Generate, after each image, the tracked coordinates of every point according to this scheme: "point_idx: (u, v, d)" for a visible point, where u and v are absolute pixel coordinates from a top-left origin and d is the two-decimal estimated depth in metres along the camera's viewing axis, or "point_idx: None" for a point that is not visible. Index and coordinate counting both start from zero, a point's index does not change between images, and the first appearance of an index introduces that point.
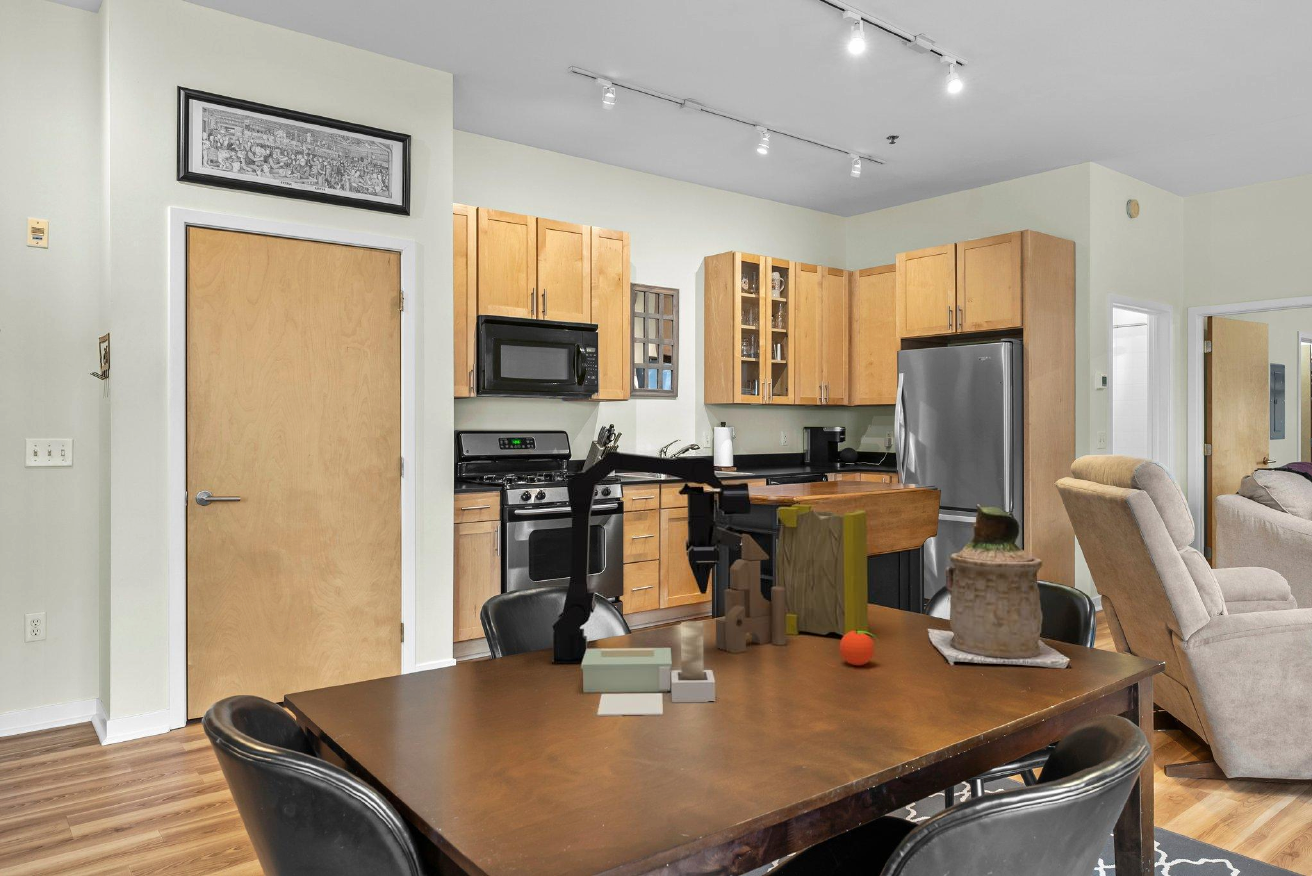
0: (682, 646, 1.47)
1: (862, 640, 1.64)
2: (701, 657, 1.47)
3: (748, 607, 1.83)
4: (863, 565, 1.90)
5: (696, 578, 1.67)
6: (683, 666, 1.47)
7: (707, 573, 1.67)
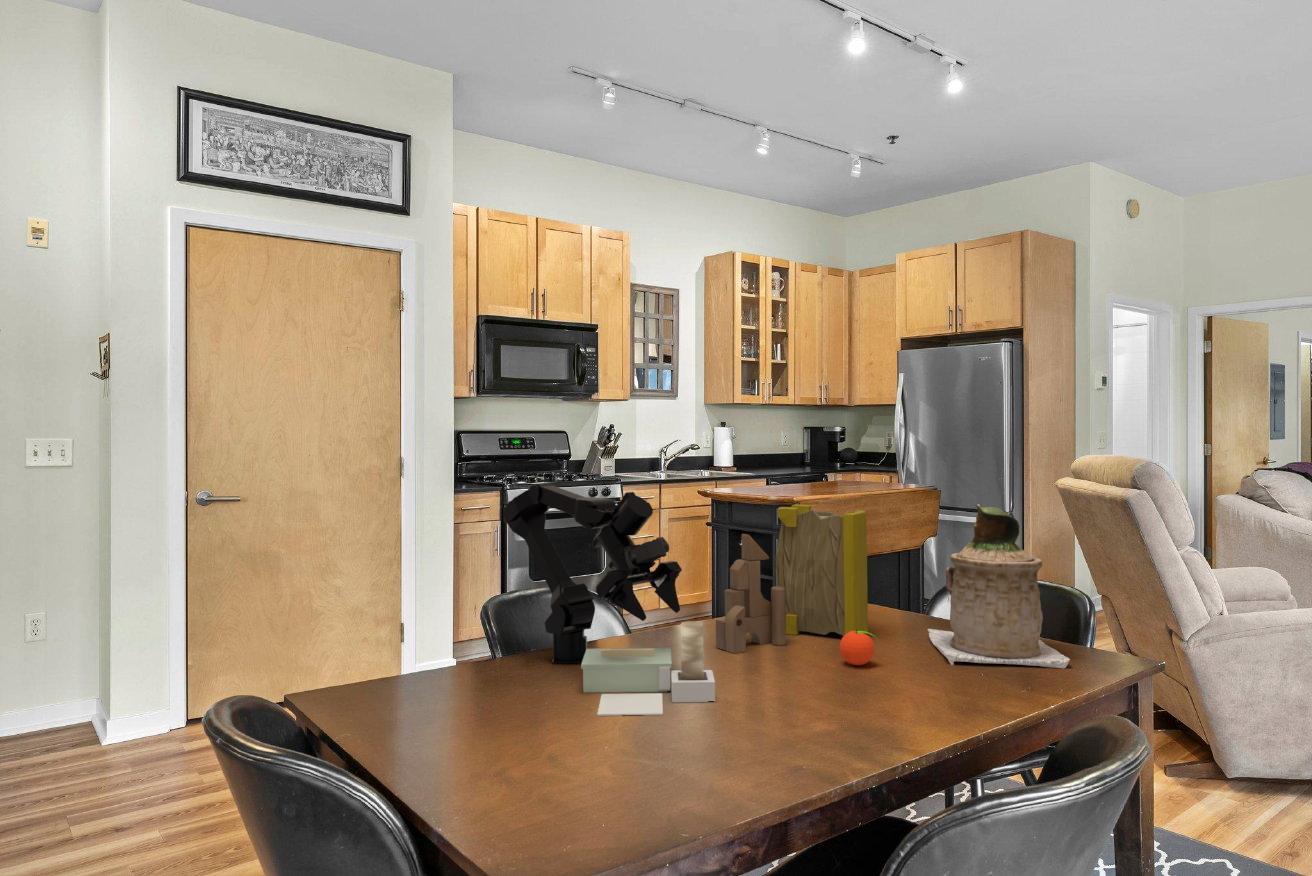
0: (682, 646, 1.47)
1: (862, 640, 1.64)
2: (701, 657, 1.47)
3: (748, 607, 1.83)
4: (863, 565, 1.90)
5: (627, 610, 1.52)
6: (683, 666, 1.47)
7: (629, 598, 1.51)
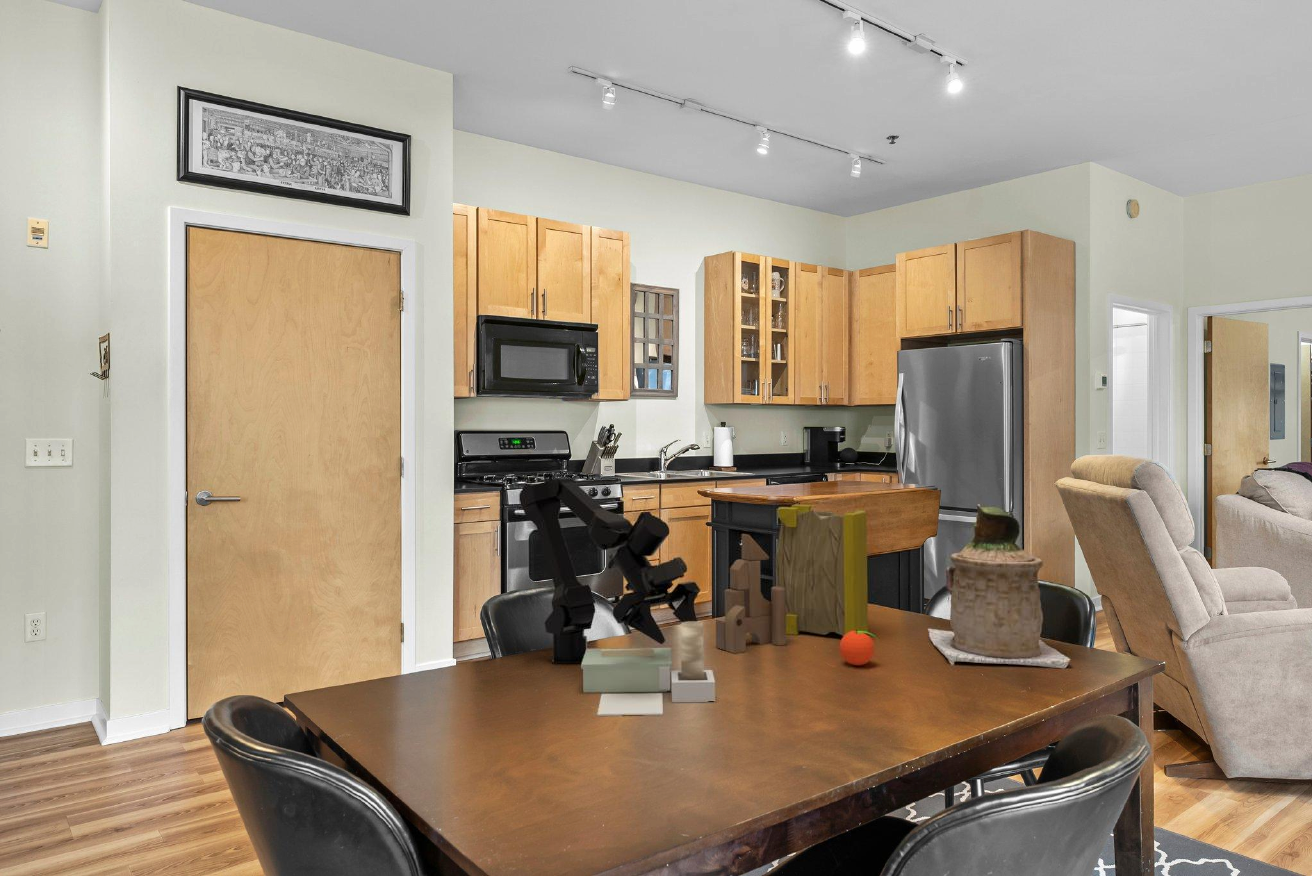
0: (682, 646, 1.47)
1: (862, 640, 1.64)
2: (701, 657, 1.47)
3: (748, 607, 1.83)
4: (863, 565, 1.90)
5: (645, 633, 1.48)
6: (683, 666, 1.47)
7: (647, 621, 1.47)
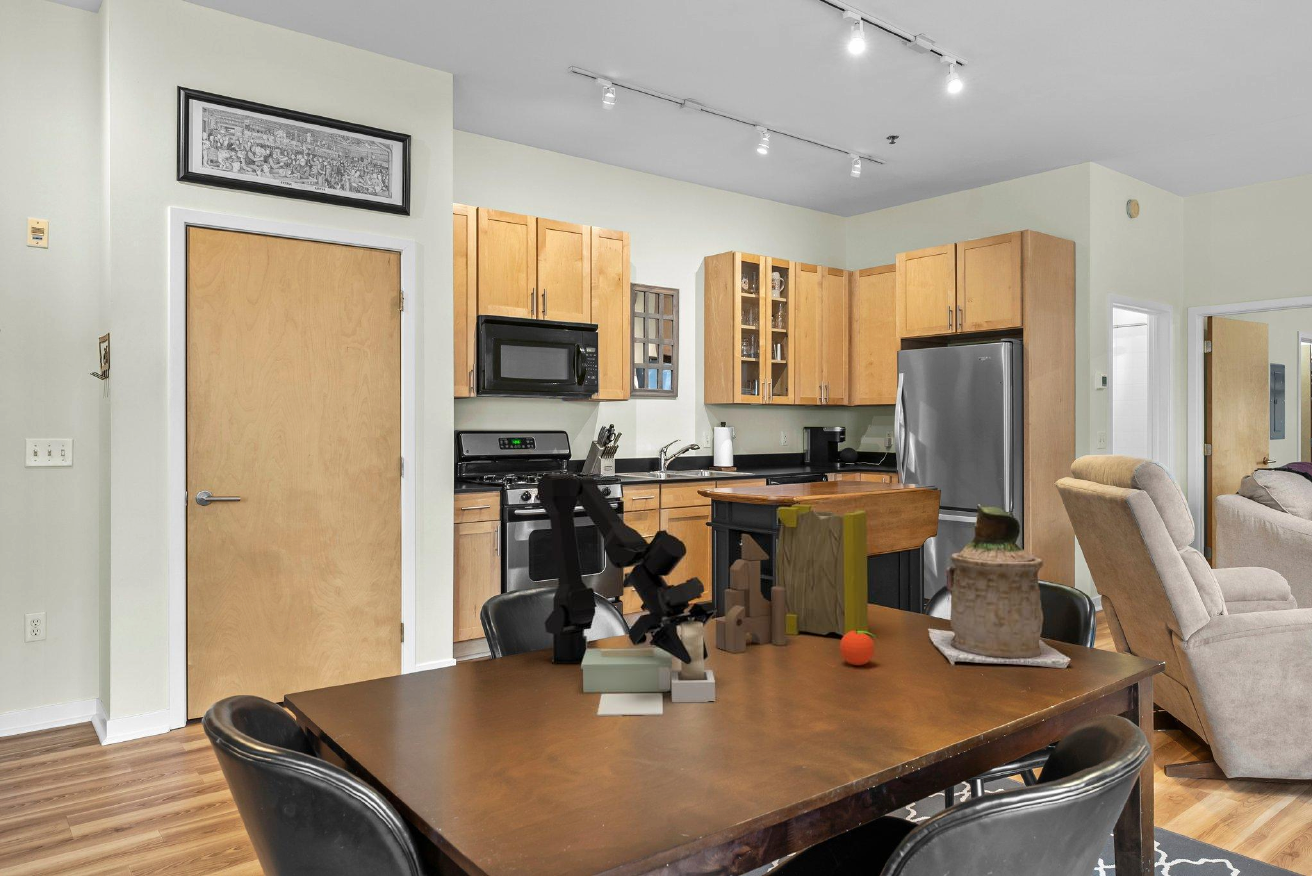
0: None
1: (862, 640, 1.64)
2: (701, 657, 1.47)
3: (748, 607, 1.83)
4: (863, 565, 1.90)
5: (671, 653, 1.47)
6: (683, 666, 1.47)
7: (673, 641, 1.46)
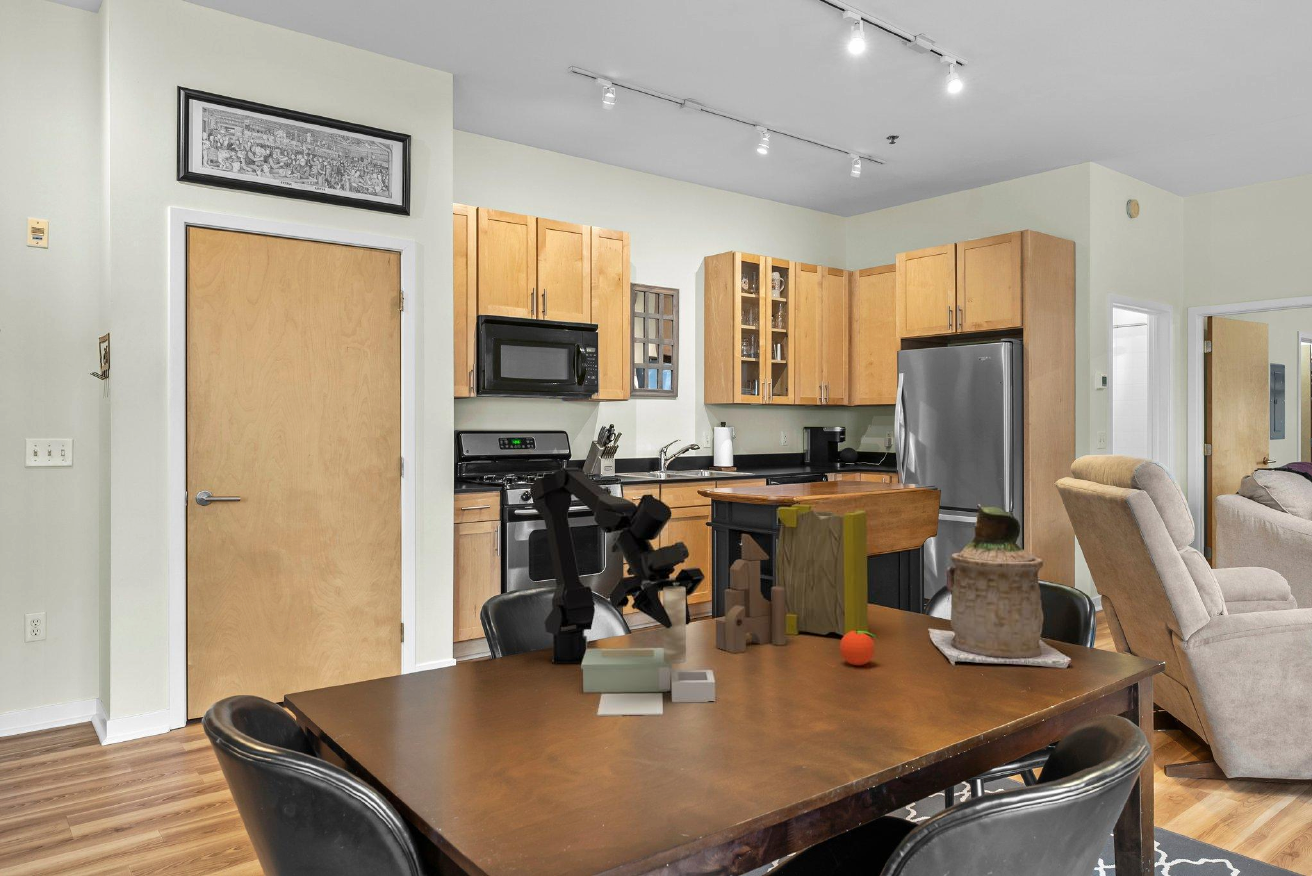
0: None
1: (862, 640, 1.64)
2: (683, 622, 1.45)
3: (748, 607, 1.83)
4: (863, 565, 1.90)
5: (652, 617, 1.45)
6: (664, 630, 1.45)
7: (654, 605, 1.45)
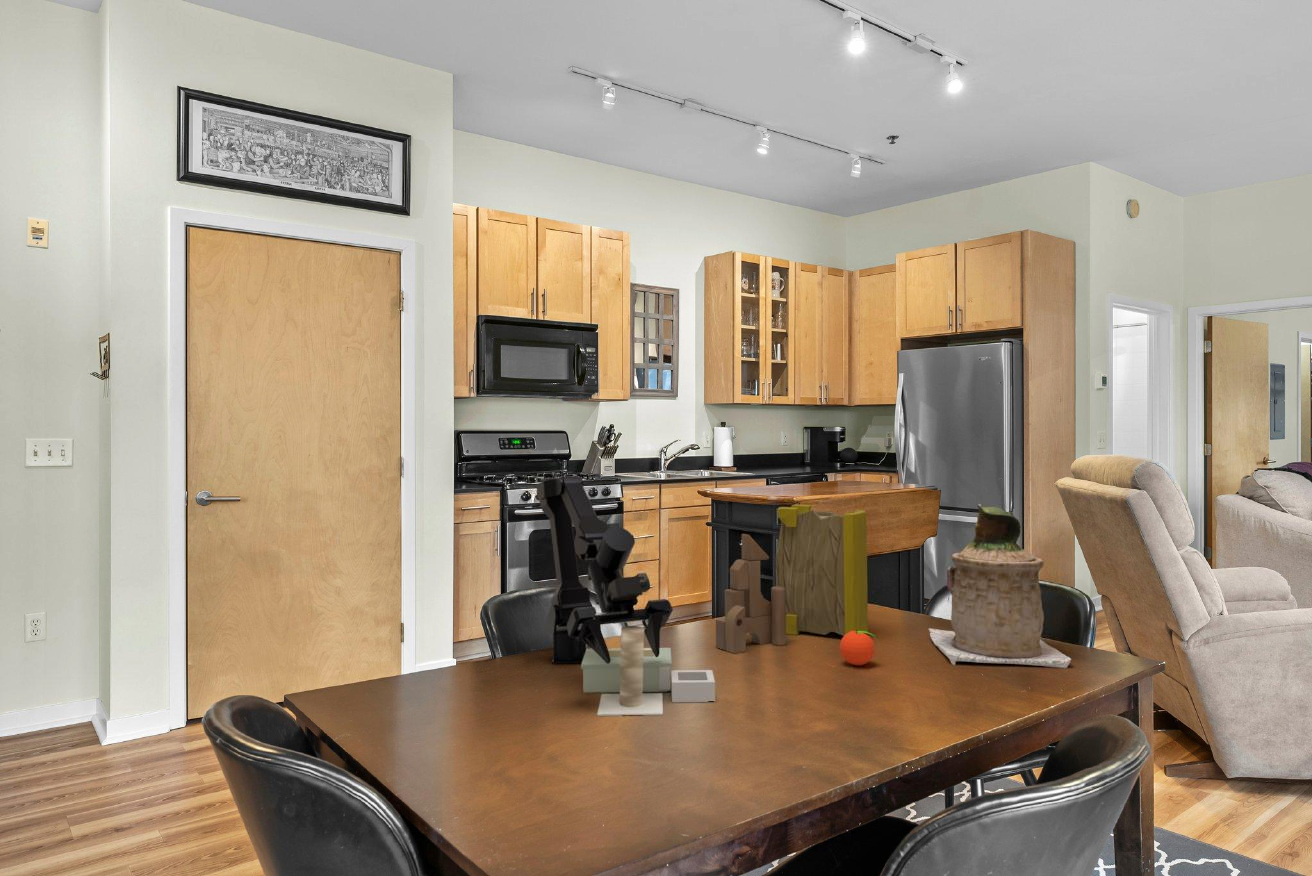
0: None
1: (862, 640, 1.64)
2: (638, 664, 1.41)
3: (748, 607, 1.83)
4: (863, 565, 1.90)
5: (595, 650, 1.42)
6: (620, 671, 1.42)
7: (595, 638, 1.41)
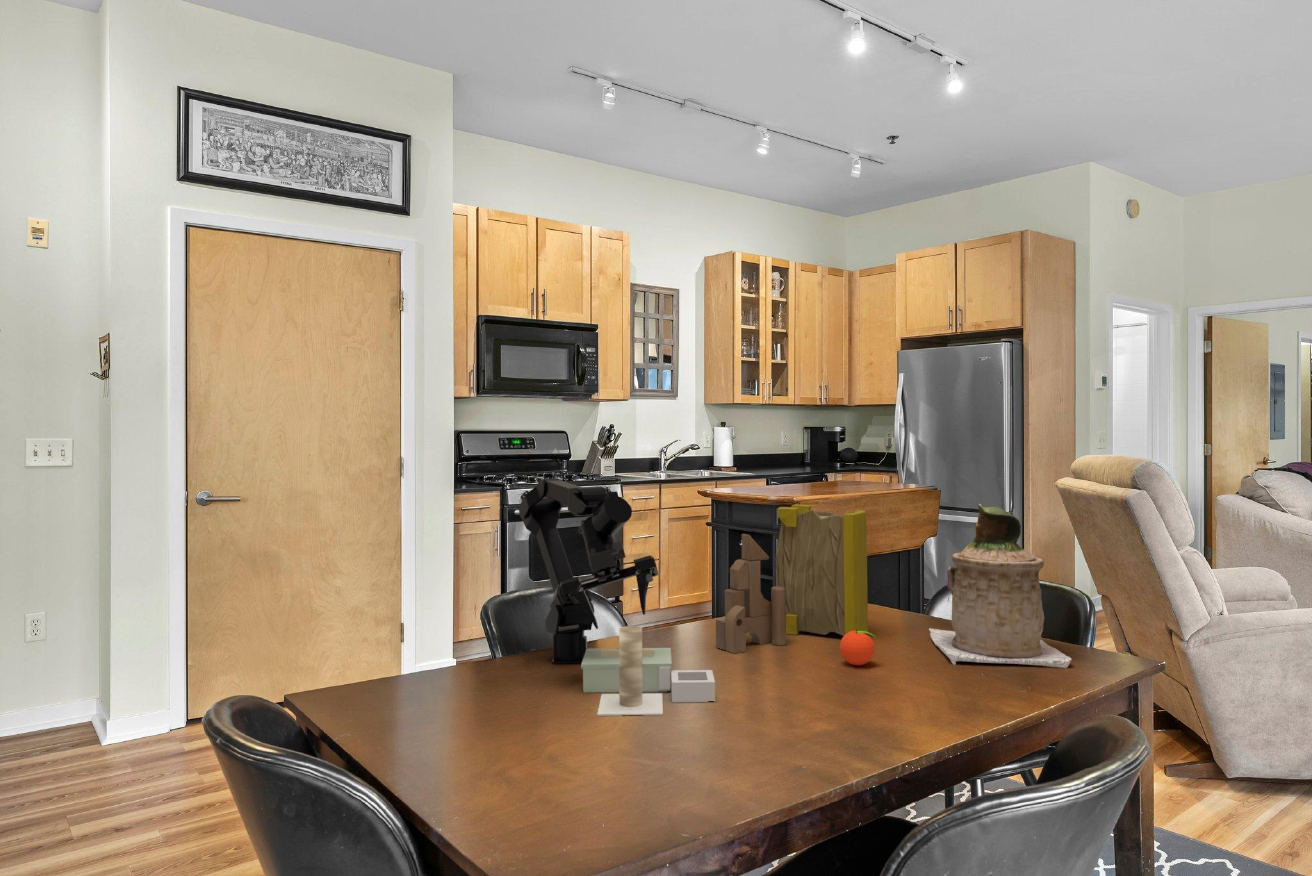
0: (619, 650, 1.43)
1: (862, 640, 1.64)
2: (636, 664, 1.41)
3: (748, 607, 1.83)
4: (863, 565, 1.90)
5: None
6: (619, 671, 1.42)
7: None
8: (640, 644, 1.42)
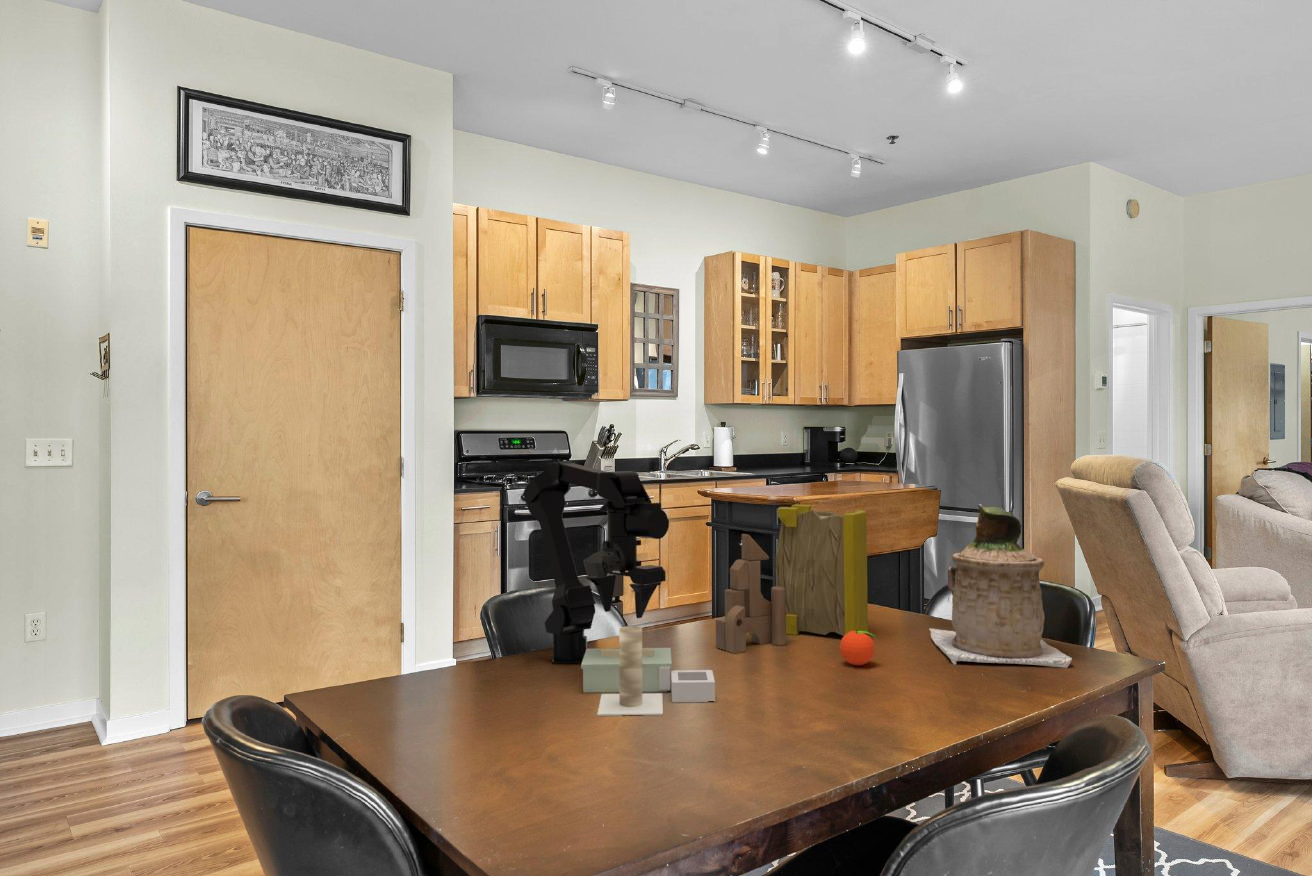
0: (619, 650, 1.43)
1: (862, 640, 1.64)
2: (636, 664, 1.41)
3: (748, 607, 1.83)
4: (863, 565, 1.90)
5: None
6: (619, 672, 1.42)
7: None
8: (640, 644, 1.42)
